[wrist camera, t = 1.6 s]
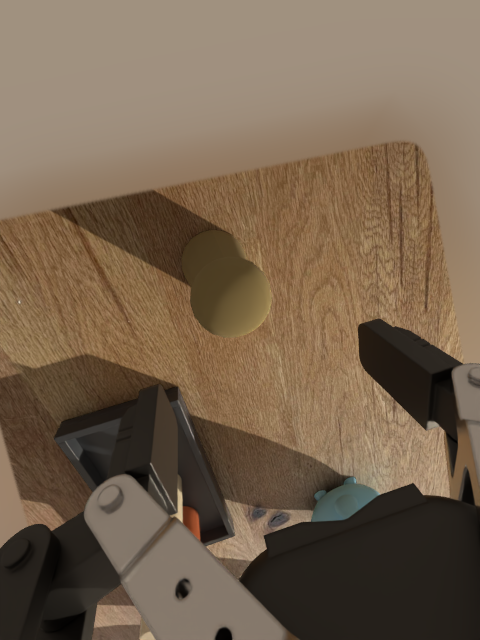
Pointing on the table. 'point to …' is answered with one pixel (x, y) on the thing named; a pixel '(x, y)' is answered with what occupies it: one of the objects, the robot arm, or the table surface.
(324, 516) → the teapot
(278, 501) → the table surface
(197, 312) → the pepper shaker
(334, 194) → the table surface
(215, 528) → the tray
